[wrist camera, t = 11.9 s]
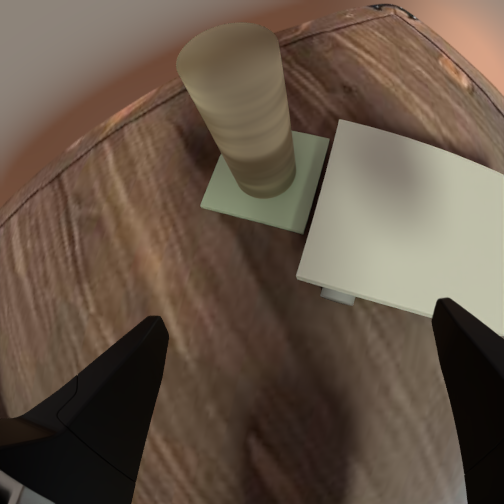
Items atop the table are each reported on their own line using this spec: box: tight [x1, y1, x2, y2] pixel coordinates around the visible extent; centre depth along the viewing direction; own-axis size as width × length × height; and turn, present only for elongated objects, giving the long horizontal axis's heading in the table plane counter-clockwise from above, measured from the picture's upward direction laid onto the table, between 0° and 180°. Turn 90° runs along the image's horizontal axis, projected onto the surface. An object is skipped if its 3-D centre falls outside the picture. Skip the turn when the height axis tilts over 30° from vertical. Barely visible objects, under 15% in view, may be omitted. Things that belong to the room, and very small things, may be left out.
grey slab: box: [296, 119, 504, 336], centre depth 20 cm, size 13×16×4 cm
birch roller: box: [176, 23, 296, 199], centre depth 19 cm, size 5×5×13 cm
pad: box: [200, 131, 330, 235], centre depth 25 cm, size 9×9×1 cm
